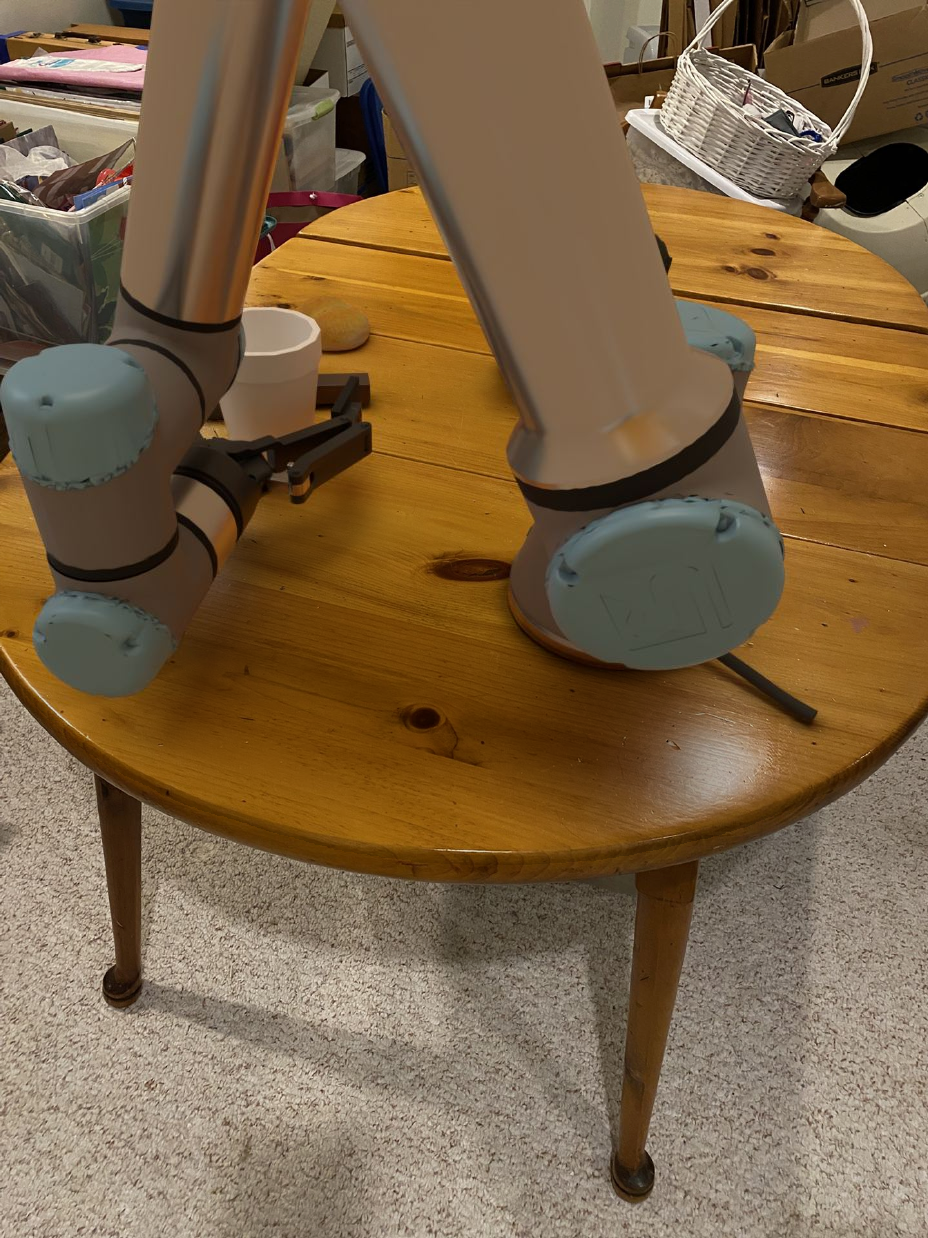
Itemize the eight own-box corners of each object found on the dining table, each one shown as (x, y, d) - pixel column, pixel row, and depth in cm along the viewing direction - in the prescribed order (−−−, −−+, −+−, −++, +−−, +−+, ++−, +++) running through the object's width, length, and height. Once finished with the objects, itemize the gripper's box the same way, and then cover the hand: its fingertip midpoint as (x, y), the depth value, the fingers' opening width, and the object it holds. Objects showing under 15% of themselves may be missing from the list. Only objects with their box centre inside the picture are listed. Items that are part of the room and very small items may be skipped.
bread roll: (325, 360, 100) (323, 324, 97) (280, 331, 105) (278, 296, 102) (386, 342, 104) (386, 307, 102) (340, 315, 109) (339, 281, 107)
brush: (367, 387, 96) (366, 355, 93) (372, 416, 91) (371, 383, 89) (186, 392, 93) (181, 358, 91) (181, 422, 88) (176, 387, 86)
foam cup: (338, 488, 81) (332, 348, 73) (232, 505, 78) (213, 362, 70) (311, 435, 88) (302, 301, 79) (212, 450, 85) (193, 312, 76)
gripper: (35, 536, 68) (153, 403, 84) (361, 582, 66) (418, 436, 82) (8, 447, 63) (138, 324, 80) (359, 493, 61) (420, 357, 77)
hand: (281, 381), depth 81 cm, fingers open, 13 cm apart
